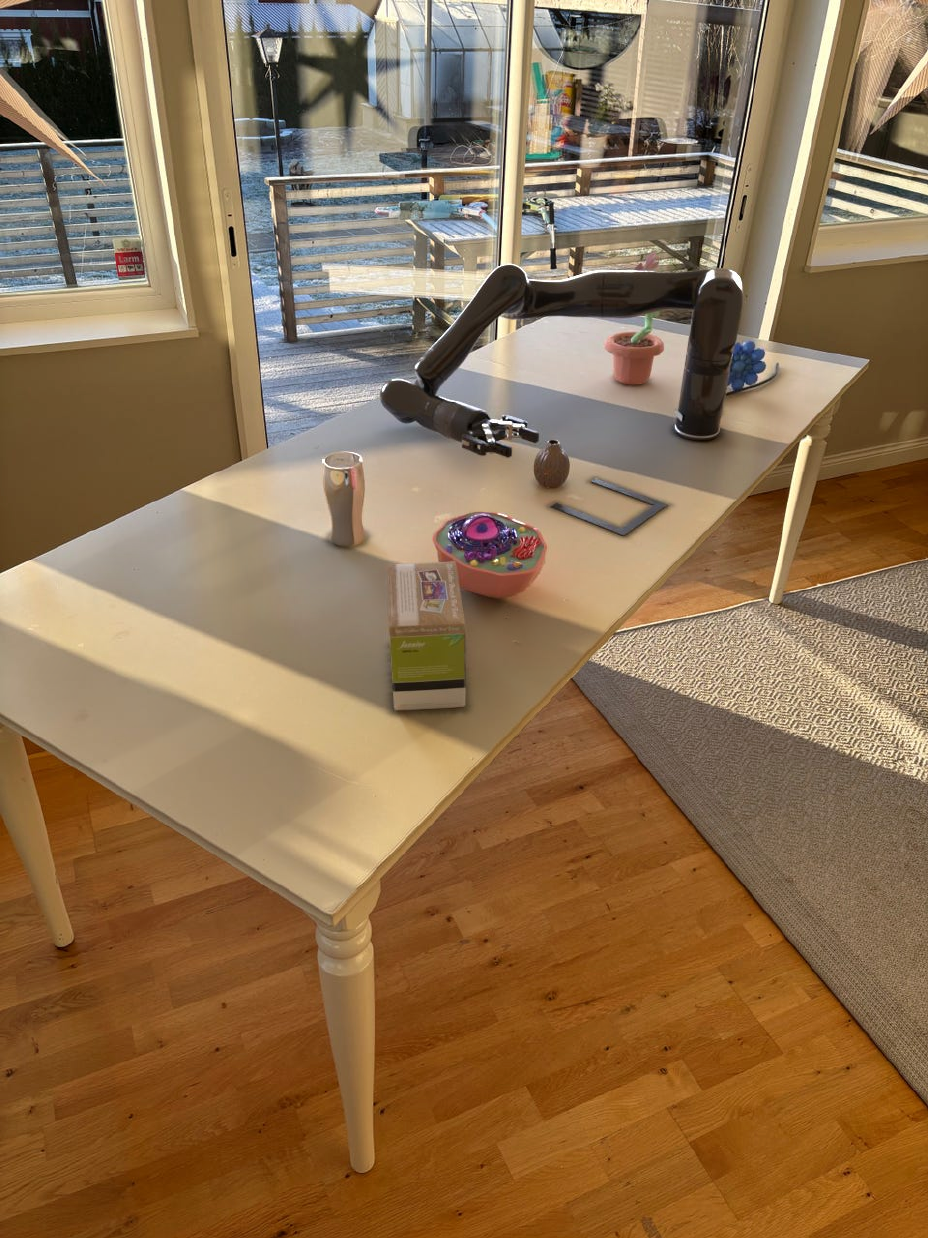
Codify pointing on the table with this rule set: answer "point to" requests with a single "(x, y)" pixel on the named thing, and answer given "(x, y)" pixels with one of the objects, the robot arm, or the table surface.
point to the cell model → (491, 553)
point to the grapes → (746, 365)
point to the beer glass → (345, 497)
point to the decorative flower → (635, 345)
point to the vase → (551, 465)
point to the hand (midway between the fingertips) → (524, 445)
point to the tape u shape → (621, 531)
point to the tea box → (426, 636)
